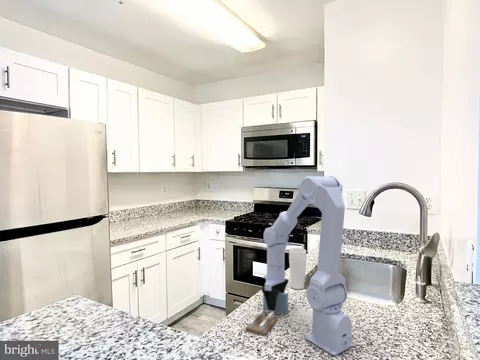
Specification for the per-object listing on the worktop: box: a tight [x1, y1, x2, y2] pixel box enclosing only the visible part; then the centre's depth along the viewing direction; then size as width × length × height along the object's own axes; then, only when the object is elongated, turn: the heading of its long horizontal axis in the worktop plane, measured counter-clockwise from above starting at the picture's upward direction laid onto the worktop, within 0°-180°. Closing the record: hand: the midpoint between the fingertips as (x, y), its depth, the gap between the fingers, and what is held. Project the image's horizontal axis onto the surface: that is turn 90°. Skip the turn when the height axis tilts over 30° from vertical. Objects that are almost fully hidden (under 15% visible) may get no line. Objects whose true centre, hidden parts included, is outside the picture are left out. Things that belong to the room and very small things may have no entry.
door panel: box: [262, 292, 289, 315], centre depth 95 cm, size 8×2×6 cm, turn 64°
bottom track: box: [245, 308, 278, 337], centre depth 85 cm, size 10×6×3 cm, turn 154°
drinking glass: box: [288, 247, 307, 290], centre depth 116 cm, size 7×7×15 cm
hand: (275, 305), depth 95 cm, fingers open, 7 cm apart
